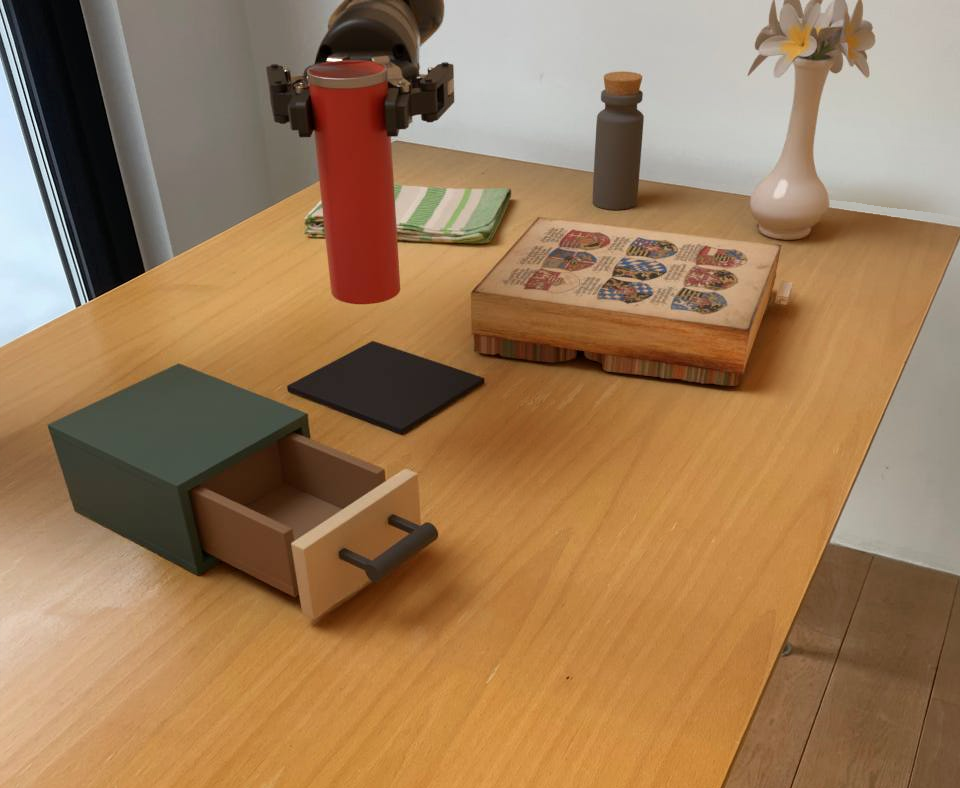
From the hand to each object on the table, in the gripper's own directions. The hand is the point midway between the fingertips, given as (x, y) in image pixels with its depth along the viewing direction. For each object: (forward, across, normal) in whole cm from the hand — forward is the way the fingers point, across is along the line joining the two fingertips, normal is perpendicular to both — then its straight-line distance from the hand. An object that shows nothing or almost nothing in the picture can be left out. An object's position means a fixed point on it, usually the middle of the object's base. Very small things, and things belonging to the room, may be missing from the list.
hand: (347, 120), depth 69 cm
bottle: (-67, +25, +27) cm, 77 cm away
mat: (-15, 0, +27) cm, 31 cm away
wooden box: (-29, +25, +27) cm, 47 cm away
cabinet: (+5, -14, +27) cm, 31 cm away
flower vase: (-56, +45, +27) cm, 77 cm away
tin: (-3, 0, +12) cm, 13 cm away
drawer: (+13, -3, +26) cm, 29 cm away
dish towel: (-62, -1, +27) cm, 67 cm away
